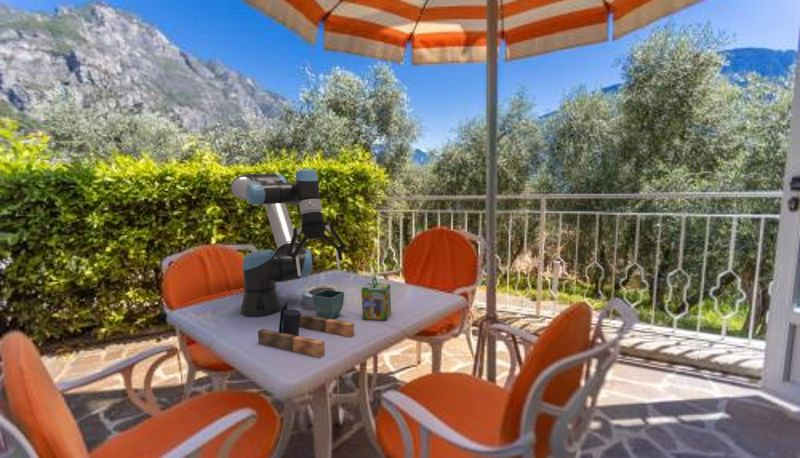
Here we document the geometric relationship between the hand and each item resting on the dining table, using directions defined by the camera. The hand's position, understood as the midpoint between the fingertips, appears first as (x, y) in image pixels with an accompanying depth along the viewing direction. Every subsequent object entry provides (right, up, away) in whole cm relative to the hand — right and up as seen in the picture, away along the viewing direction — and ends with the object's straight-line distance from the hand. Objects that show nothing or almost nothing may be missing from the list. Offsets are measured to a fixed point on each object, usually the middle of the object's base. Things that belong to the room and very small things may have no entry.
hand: (319, 272), depth 136 cm
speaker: (-8, -20, -7) cm, 23 cm away
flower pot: (+2, -18, +10) cm, 20 cm away
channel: (-2, -20, -10) cm, 23 cm away
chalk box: (+19, -18, +10) cm, 28 cm away
